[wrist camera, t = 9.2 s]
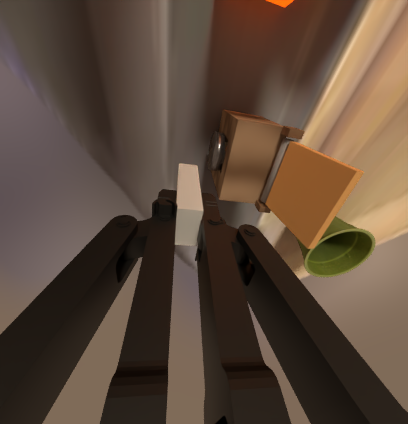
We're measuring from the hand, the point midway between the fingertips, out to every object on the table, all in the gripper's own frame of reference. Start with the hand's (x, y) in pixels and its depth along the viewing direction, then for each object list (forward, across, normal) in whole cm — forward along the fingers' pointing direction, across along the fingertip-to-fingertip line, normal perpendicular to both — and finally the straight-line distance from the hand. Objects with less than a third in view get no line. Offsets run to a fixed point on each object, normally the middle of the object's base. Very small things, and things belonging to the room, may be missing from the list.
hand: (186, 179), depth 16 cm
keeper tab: (+2, +11, -1) cm, 11 cm away
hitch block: (+17, +8, -1) cm, 19 cm away
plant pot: (+17, +28, -14) cm, 36 cm away
